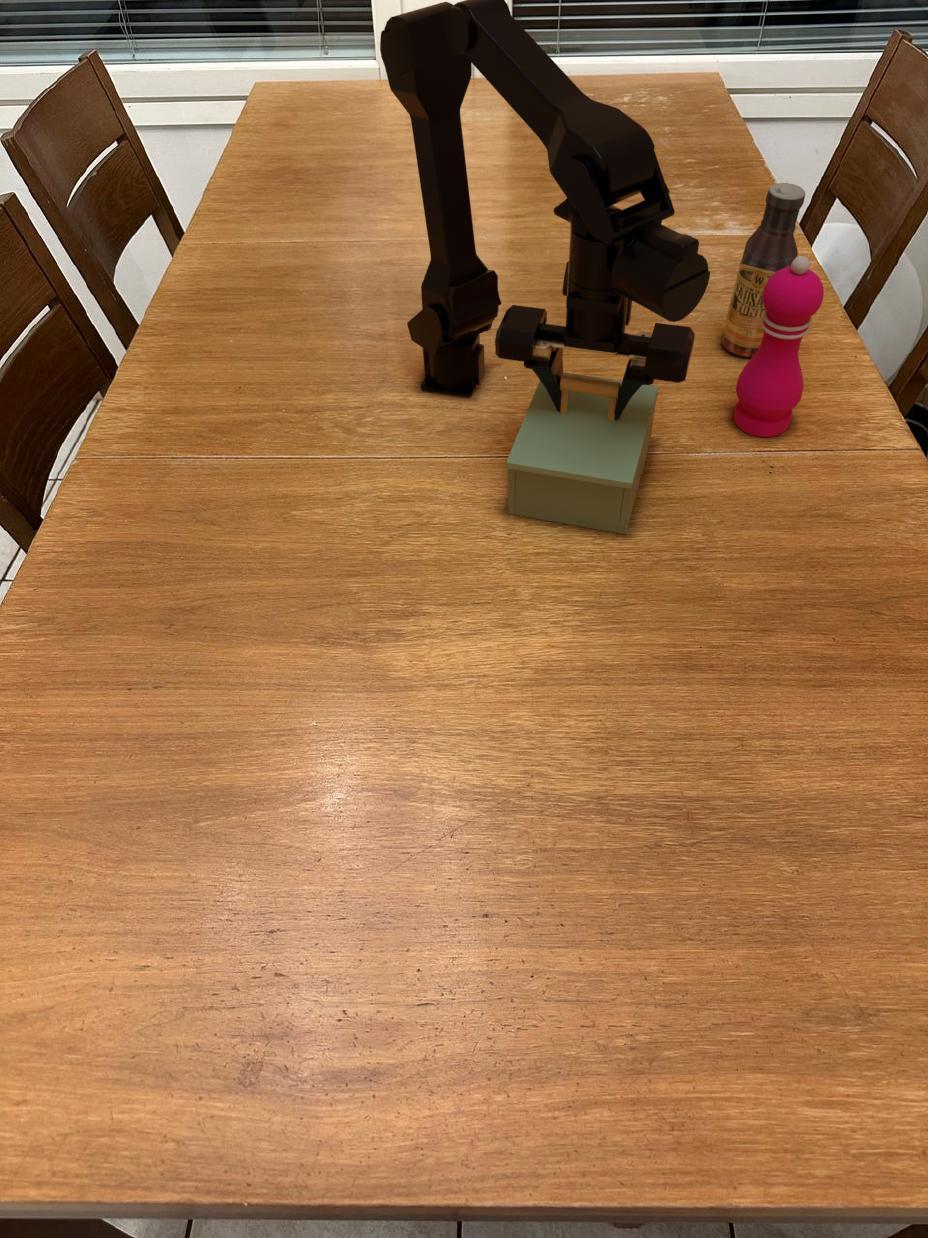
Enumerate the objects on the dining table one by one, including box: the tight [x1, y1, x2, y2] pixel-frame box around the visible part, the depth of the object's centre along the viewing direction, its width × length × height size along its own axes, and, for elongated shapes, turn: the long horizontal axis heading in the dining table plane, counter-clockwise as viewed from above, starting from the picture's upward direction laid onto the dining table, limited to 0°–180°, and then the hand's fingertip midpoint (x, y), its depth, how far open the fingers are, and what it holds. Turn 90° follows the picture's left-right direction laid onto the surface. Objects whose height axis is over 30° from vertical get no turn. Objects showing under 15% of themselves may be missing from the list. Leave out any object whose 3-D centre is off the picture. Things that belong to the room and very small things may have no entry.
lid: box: [505, 372, 659, 489], centre depth 96 cm, size 16×13×5 cm
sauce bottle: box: [721, 182, 806, 358], centre depth 112 cm, size 6×6×20 cm
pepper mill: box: [733, 255, 825, 438], centre depth 102 cm, size 7×7×20 cm
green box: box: [507, 395, 658, 535], centre depth 101 cm, size 16×13×7 cm
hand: (588, 413), depth 99 cm, fingers closed on lid, 6 cm apart
